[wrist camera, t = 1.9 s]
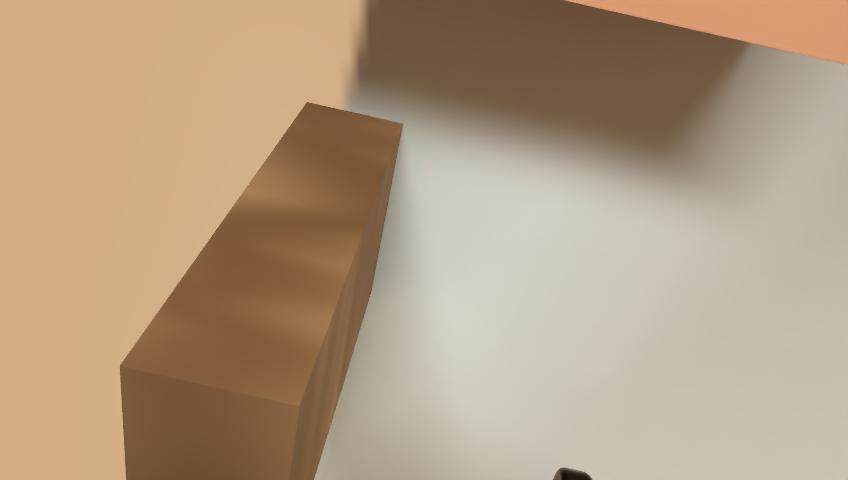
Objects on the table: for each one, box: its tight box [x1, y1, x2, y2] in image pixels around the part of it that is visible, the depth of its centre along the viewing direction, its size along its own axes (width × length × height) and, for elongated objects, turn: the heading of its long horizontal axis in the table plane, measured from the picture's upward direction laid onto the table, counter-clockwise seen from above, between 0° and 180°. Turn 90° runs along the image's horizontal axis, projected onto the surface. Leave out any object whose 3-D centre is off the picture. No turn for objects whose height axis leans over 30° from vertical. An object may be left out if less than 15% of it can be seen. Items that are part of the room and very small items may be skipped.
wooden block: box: [120, 102, 403, 480], centre depth 12 cm, size 2×4×8 cm, turn 169°
